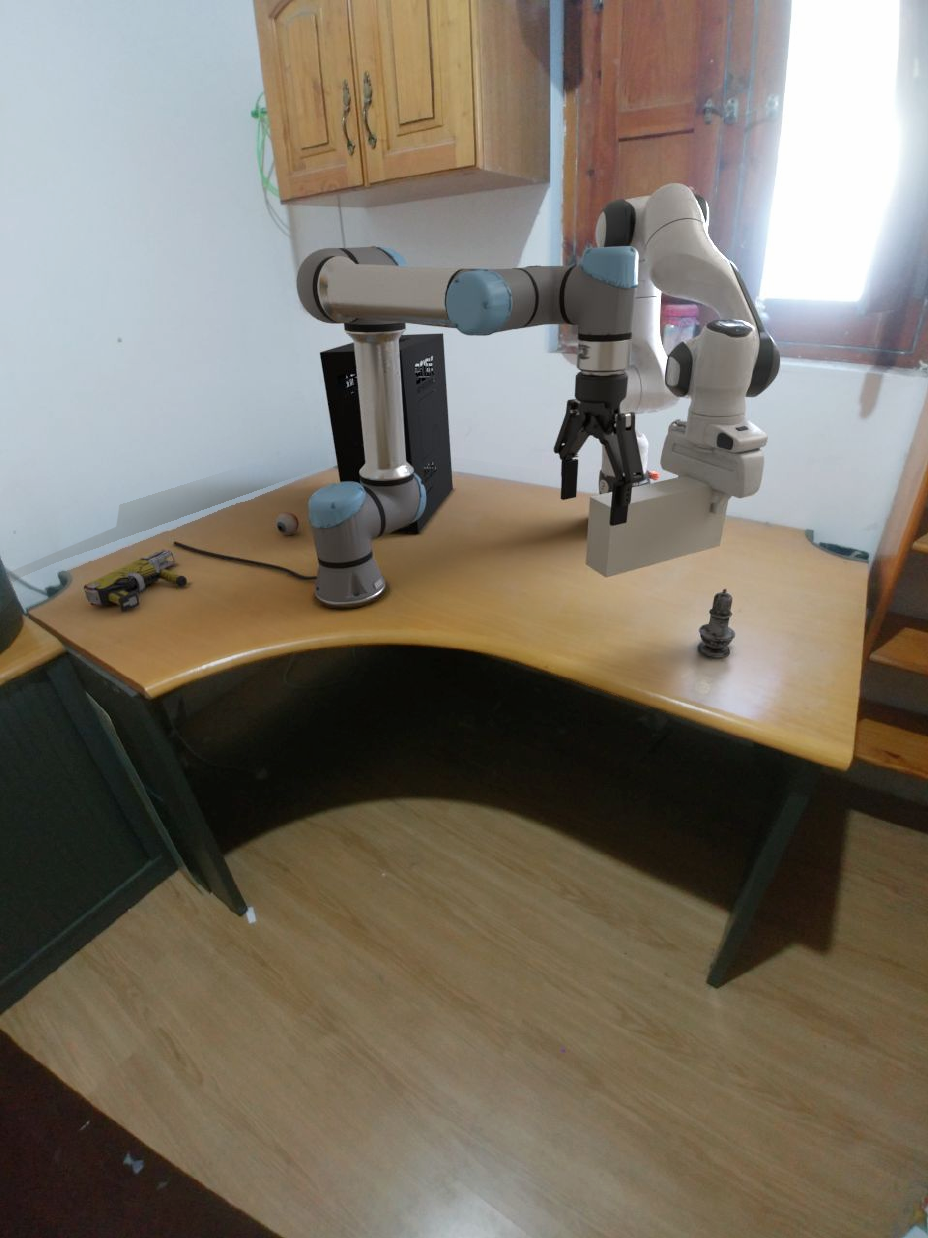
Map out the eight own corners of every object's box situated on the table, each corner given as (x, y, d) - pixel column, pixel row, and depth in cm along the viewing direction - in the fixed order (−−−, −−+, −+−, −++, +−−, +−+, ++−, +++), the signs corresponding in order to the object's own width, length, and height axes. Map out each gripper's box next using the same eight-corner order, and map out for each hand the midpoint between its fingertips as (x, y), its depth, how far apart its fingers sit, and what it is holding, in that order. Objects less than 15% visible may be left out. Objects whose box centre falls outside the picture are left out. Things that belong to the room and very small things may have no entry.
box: (696, 534, 115) (707, 470, 109) (719, 545, 111) (732, 479, 104) (585, 564, 107) (589, 496, 100) (605, 577, 102) (611, 507, 96)
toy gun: (210, 557, 146) (160, 546, 150) (132, 599, 126) (77, 585, 130) (213, 575, 148) (164, 564, 152) (137, 618, 128) (82, 604, 132)
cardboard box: (418, 533, 160) (401, 349, 138) (347, 530, 165) (319, 352, 142) (452, 488, 192) (443, 333, 169) (392, 487, 196) (375, 335, 174)
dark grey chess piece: (734, 659, 103) (747, 597, 97) (698, 657, 104) (708, 596, 98) (728, 641, 108) (740, 581, 102) (694, 639, 109) (704, 580, 103)
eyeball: (273, 537, 164) (268, 516, 161) (287, 528, 169) (282, 508, 166) (291, 539, 161) (286, 518, 158) (305, 530, 166) (301, 510, 163)
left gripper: (535, 363, 96) (532, 492, 107) (637, 386, 76) (621, 541, 87) (574, 359, 99) (568, 485, 109) (683, 379, 79) (662, 531, 90)
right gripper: (656, 419, 108) (648, 493, 115) (746, 444, 92) (730, 529, 99) (684, 414, 110) (674, 487, 117) (776, 438, 94) (759, 521, 101)
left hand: (591, 510), depth 98 cm, fingers open, 13 cm apart
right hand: (700, 506), depth 108 cm, fingers closed on box, 6 cm apart
